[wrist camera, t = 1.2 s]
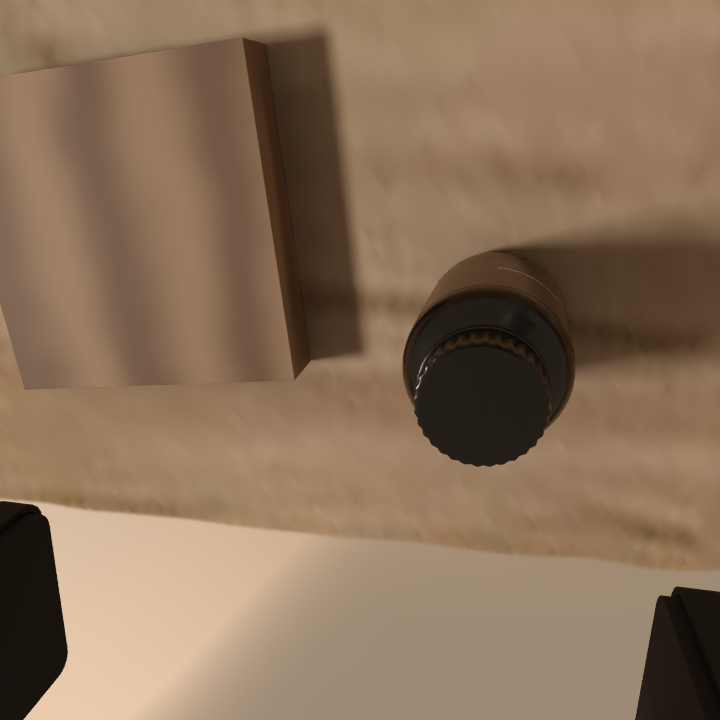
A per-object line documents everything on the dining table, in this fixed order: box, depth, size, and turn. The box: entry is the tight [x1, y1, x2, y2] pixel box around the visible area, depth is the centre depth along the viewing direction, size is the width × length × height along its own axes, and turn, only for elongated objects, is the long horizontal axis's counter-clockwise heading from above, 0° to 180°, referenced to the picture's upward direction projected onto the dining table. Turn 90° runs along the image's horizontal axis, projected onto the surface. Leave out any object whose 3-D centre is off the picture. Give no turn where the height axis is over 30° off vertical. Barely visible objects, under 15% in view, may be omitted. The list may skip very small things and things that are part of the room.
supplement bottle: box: [403, 252, 575, 467], centre depth 29 cm, size 7×7×12 cm
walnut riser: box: [0, 38, 311, 389], centre depth 36 cm, size 16×16×3 cm
